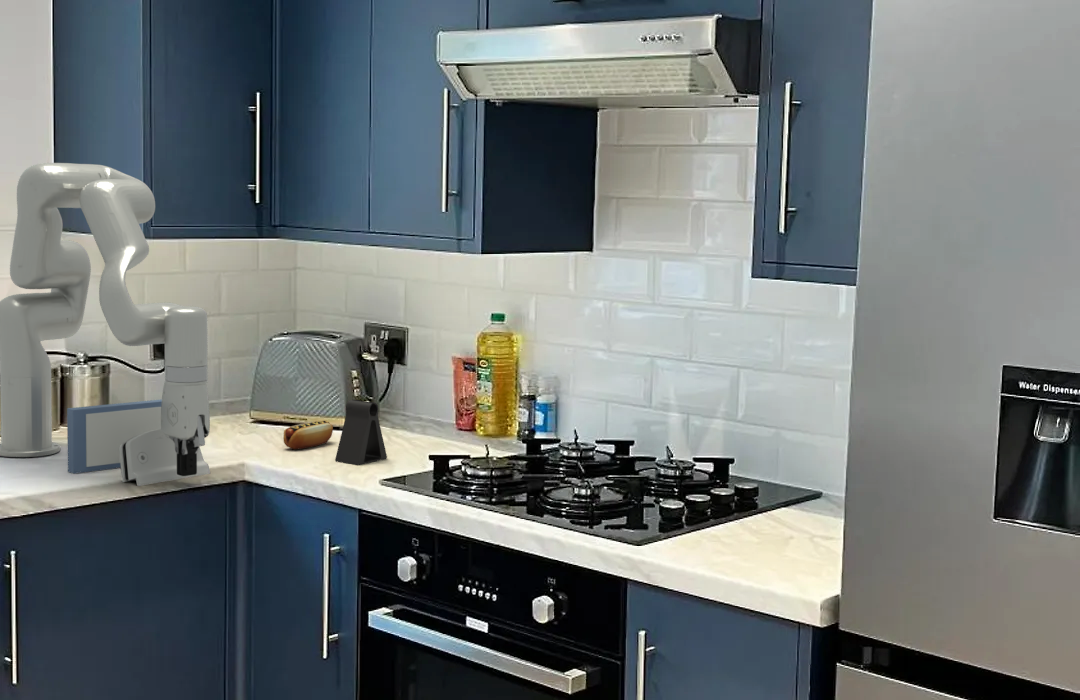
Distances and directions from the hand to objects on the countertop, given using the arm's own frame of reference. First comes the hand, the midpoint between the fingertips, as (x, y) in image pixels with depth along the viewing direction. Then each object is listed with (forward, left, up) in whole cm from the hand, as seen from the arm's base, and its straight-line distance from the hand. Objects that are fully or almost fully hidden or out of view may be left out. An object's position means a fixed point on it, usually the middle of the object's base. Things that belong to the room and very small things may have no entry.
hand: (186, 474), depth 261 cm
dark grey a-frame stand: (+1, +39, -2) cm, 39 cm away
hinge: (-8, 0, -2) cm, 9 cm away
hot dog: (-17, +39, -2) cm, 43 cm away
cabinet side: (-21, 0, -2) cm, 21 cm away
